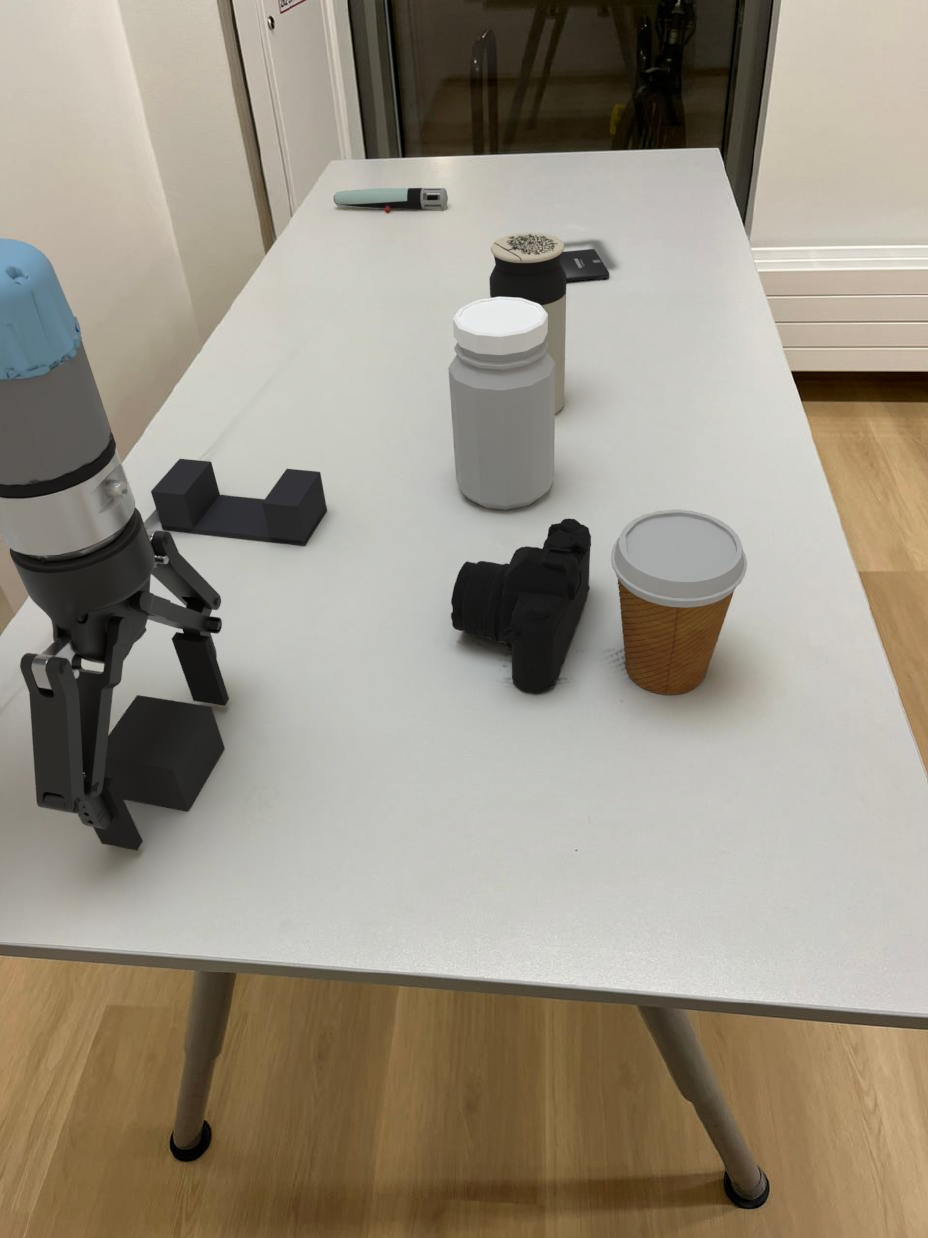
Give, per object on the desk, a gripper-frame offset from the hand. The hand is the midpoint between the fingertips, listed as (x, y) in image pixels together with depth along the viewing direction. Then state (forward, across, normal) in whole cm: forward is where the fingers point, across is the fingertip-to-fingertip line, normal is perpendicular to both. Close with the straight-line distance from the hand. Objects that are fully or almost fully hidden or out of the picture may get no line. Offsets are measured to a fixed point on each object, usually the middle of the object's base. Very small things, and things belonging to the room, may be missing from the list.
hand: (170, 766), depth 69 cm
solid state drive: (+1, +99, -14) cm, 100 cm away
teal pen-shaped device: (0, +122, +22) cm, 124 cm away
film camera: (+1, +20, -22) cm, 30 cm away
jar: (+1, +41, -16) cm, 44 cm away
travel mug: (+1, +58, -15) cm, 60 cm away
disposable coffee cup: (+1, +18, -34) cm, 38 cm away
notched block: (+1, +31, +8) cm, 32 cm away
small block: (+1, 0, 0) cm, 1 cm away
